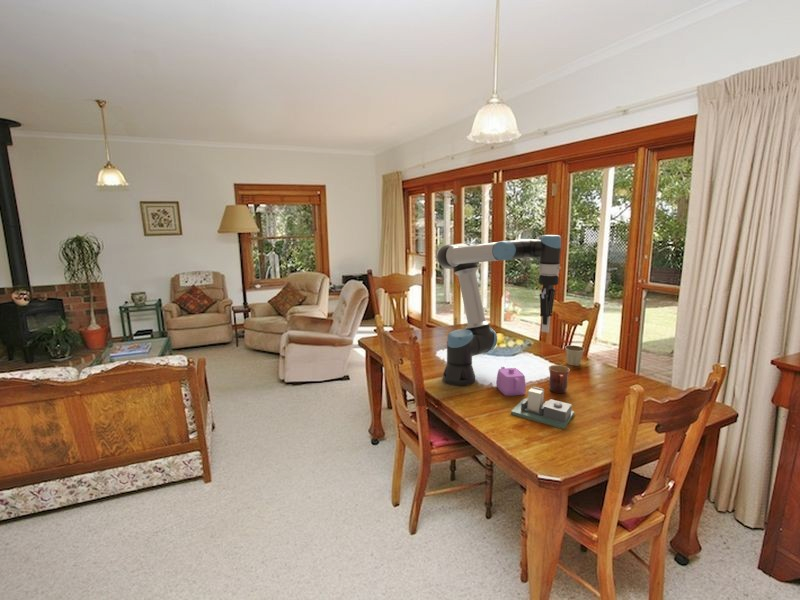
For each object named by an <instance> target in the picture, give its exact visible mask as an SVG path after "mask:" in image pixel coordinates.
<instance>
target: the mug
mask: <svg viewBox="0 0 800 600" xmlns="http://www.w3.org/2000/svg"><path fill="white" fill-rule="evenodd" d="M548 370H549V380H548V381H549V382H548V387H549V391H551V392H552V393H555V394H564V393H566V392H567V389H568V377H569V374H570V372H571V369H570V368H569V367H568V366H564V365H560V364H559V365H558V364H555V365H554V364H553V365H550V366H548Z"/></svg>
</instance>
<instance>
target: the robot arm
mask: <svg viewBox="0 0 800 600" xmlns="http://www.w3.org/2000/svg"><path fill="white" fill-rule="evenodd" d="M561 251H562V237H561V235H559V234H542V235H541V236H540V239H533V238H532V239H531V238H530V239H529V238H518V239H516V240H501V241H495V242H488V243H481V244H479V243H478V244H473V243H465V242H464V243H454V244H452V243H451V244H446V245H443V246H441V247H440V249H438V251H437V254H436V260H437V262H438V265H440V266H441V267H442V268H444V269H447V270H448V269H449V270H453V273H454V274H455V275H456V276H457V277H458V282H459V287H460V292H461V298H462V302H463V306H464V311H465V312H464V313H465V318H466V323H467V325H466V326H465V328H461V329H459V328H458V329H455V330H452V331H450V332H449V333H448V334H447V340H446V366H445V367H444V371H443V374H442V381H443V382H444V383H446V384H449V385H451V386H456V387H457V386H459V387H466V386H470V385H472V384H474V383H475V382H476V374H475V371H474V367H473V356H475V357H476V356H478V355H481V354H487V353H488V352H491V351H492V350H494V349H495V347H496V346H497V343H498V335H497V332H496V330H494V329H493V328H492V327H491V326H490V323H489V322H488V321H486V317H485V313H484V312H485V311H484V308H483V303H482V302H483V301H482V297H481V293H480V288H479V282H478V277H477V273H476V272H477V270H478V269H479V267H478V265H479V264H480V263H484V262H486V263H487V262H497V261H510V260H518V259H520V260H521V259H527V258H528V259H529V258H530V259H532V258H533V259H539V266H538V273H539V275H538V284H539V285H542V288H541V293H539V302H540V303H539V304H540V305H539V306H540V307H539V308H540V314H539V316H540V317H541V333H547V334H548V333H550V325H551V317H553V314H552V313H553V311H554V310H553V309H554V302H555V301H554V300H555V295H556V289H555V288H554V286H557V285H559V281H560V276H559V274H560V270H561V269H562V268H561V266H560V264H561V261H560V260H561Z"/></svg>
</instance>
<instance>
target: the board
mask: <svg viewBox="0 0 800 600" xmlns="http://www.w3.org/2000/svg"><path fill="white" fill-rule="evenodd" d="M527 406H528V396H527V397H526V398H523V399H522V400H521V401H519V403H518V404H517V405H515V407H513V408H512V410H511V411H510V415H513V416H516V417H520V418H523V419H527V420H530V421H535V422H538V423H541V424H545V425H548V426H552V427H555V428H558V429H561V428H562V429H561V430H565V428H566V427H567V426H568V424H569V422H570V421H571V420H572V418H573V417H574V416H575V411H574V410H572V406H573V405H572V403H568V402H563V401H559V400H555V399H551V398H550V399H549V400H546V401H545V402H543V405H542V406H541V408H540V413H538V412H535V411H531V410H527Z"/></svg>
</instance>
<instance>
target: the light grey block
mask: <svg viewBox="0 0 800 600" xmlns="http://www.w3.org/2000/svg"><path fill="white" fill-rule="evenodd" d="M544 396H545V388H541V387H538V386H531V388H530V389H528V393H527V397H528V406H527V410H531V411H535V412H538V413H540V408H541V406H542V405H543V404H544V400H545V399H544V398H545V397H544Z"/></svg>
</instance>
